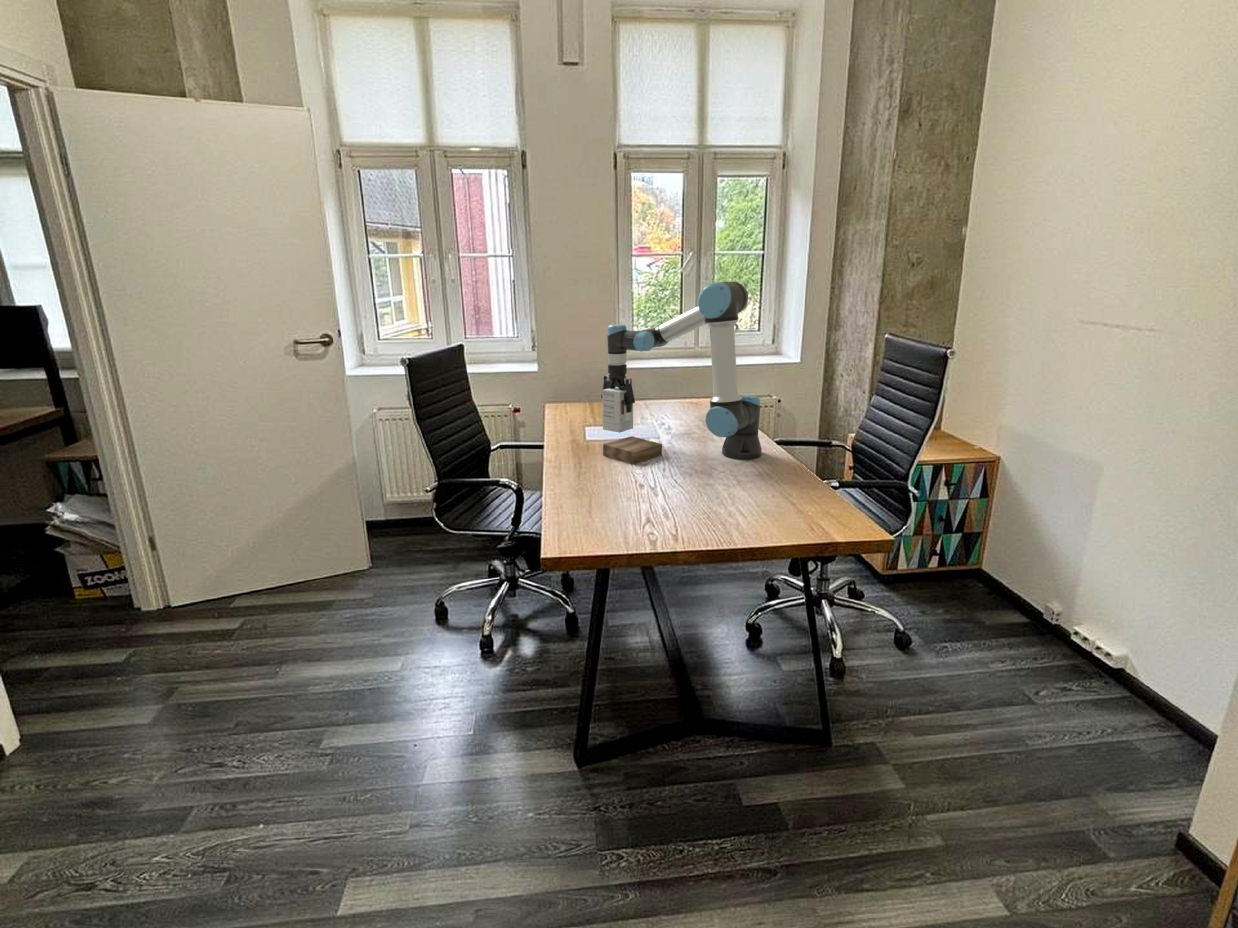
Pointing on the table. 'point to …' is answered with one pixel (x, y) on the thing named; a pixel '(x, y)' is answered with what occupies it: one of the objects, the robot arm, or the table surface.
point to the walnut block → (632, 450)
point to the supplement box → (615, 411)
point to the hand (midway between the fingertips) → (618, 418)
